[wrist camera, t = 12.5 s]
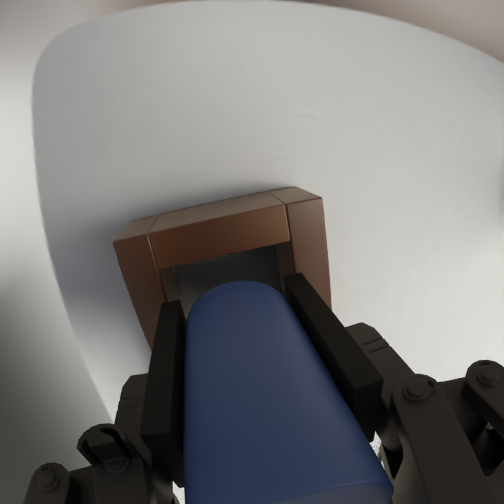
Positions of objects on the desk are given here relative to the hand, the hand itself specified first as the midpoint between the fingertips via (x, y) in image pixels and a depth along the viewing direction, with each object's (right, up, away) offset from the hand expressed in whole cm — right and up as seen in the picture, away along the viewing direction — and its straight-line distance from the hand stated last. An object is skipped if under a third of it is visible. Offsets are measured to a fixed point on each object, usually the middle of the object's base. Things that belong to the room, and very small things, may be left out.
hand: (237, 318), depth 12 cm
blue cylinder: (0, 0, -1) cm, 1 cm away
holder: (0, -2, +5) cm, 5 cm away
